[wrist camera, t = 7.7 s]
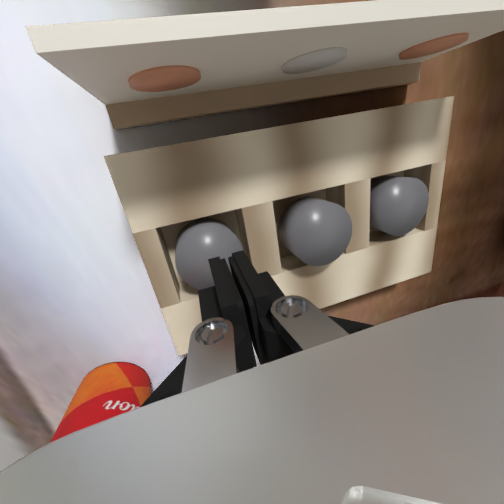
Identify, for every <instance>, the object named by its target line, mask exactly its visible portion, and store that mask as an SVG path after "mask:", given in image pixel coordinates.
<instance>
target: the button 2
mask: <svg viewBox="0 0 504 504" xmlns="http://www.w3.org/2000/svg"><path fill="white" fill-rule="evenodd" d="M428 202H429V194H428V190H427V187H426V185H425V184H424V183H423V182H422V181H421V180H420V179H417V178H411V177H400V176H388V175H384V176H380V177H377V178H375V179H374V180H372V181H371V182H370V227H371V228H374V229H377V230H379V231H382V232H385V233H388V234H390V235H394V236H400V235H404V234H407V233H409V232H410V231H412V230H413V229H414V228H415V227H416V226H417V225H418V224H419V223H420V222H421V220H422V219H423V217H424V215H425V213H426V210H427V207H428Z"/></svg>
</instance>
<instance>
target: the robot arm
mask: <svg viewBox="0 0 504 504" xmlns="http://www.w3.org/2000/svg"><path fill="white" fill-rule="evenodd" d="M228 260H229V265H230V269H231V272H230V270H229V267H228V265H227V263H226V260H225V258H223V259H220V257H215V258H211V259H208V261H209V265H210V269H211V273H212V277H213V281H214V284H215V286H211V287H208V288H204V289H201V290H198V296H199V303H200V311H201V318H202V322H201V323H200V324H198V325H197V326H196V327H195V328H194V329H193V331H192V333H191V336H190V341H189V348H188V354H187V356H186V357H185V358H184V359H183V360H182V361H181V363H180V364H179V365H178V366H177V367H176V368H175V369H174V370H173V371H172V372H171V373H170V375H169V376H168V377H167V378H166V379H165V380H164V381H163V382H162V383H161V384H160V385H159V387H158V388H157V389H156V390H155V391H154V392H153V393H152V394H151V395H150V396H149V397H148V398H147V400H146V401H145V402H144V403H143V404H142V405H141V406H140V408H137V409H134V410H131V411H128V412H125V413H122V414H120V415H117V416H115V417H112V418H109V419H107V420H104V421H102V422H99V423H96V424H94V425H91V426H88V427H86V428H83V429H81V430H78V431H75V432H73V433H71V434H69V435H66V436H64V437H62V438H60V439H58V440H55V441H53V442H51V443H49V444H47V445H45V446H43V447H41V448H39V449H38V450H36V451H34V452H32V453H30V454H28V455H26V456H25V457H23V458H21V459H19V460H18V461H16V462H15V463H13V464H12V465H10V466H8V467H7V468H5V469H4V470H2V471H1V472H0V504H504V297H479V298H471V299H463V300H458V301H454V302H449V303H445V304H441V305H438V306H435V307H431V308H428V309H425V310H421V311H418V312H415V313H412V314H409V315H406V316H403V317H400V318H397V319H394V320H391V321H388V322H385V323H382V324H379V325H376V326H374V325H369V324H365V323H360V322H355V321H350V320H346V319H341V318H336V317H331V316H327V315H326V314H325V313H323V312H322V311H321V310H320V309H319V308H317V307H316V306H315V305H314V304H313V303H311V302H310V301H309V300H308V299H306V298H304V297H301V296H296V295H289V296H285V295H284V293H283V292H282V291H281V289H280V288H279V287H278V285H277V284H276V282H275V281H274V280H273V278H272V277H271V275H270V274H269V273H268V272H267V271H265V272H262V273H257V271H256V270H255V268H254V267H253V265H252V263H251V262H250V260H249V259H248V257H247V256H246V254H245V252H244V251H243V250H242V251H238V252H234V253H232V256H231V257H228ZM251 341H252V342H251ZM252 344H253V346H254V349H255V352H256V354H257V357H258V359H259V362H260V364H261V365H260V366H257V365H256V360H255V356H254V351H253V346H252ZM262 364H263V365H262ZM256 366H257V367H256ZM253 367H254V368H253Z"/></svg>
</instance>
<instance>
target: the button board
mask: <svg viewBox="0 0 504 504" xmlns="http://www.w3.org/2000/svg"><path fill="white" fill-rule="evenodd" d="M453 101H454V96H451V97H445V98H439V99H433V100H427V101H422V102H416V103H410V104H404V105H398V106H393V107H387V108H381V109H375V110H369V111H364V112H358V113H352V114H346V115H340V116H335V117H329V118H323V119H317V120H311V121H306V122H300V123H294V124H288V125H282V126H276V127H271V128H265V129H259V130H253V131H247V132H242V133H236V134H230V135H224V136H218V137H213V138H207V139H201V140H195V141H189V142H184V143H178V144H172V145H166V146H160V147H154V148H149V149H143V150H137V151H131V152H125V153H120V154H114V155H108V156H104V158H105V161H106V164H107V166H108V169H109V172H110V174H111V177H112V180H113V182H114V185H115V188H116V190H117V193H118V196H119V198H120V201H121V204H122V206H123V209H124V212H125V214H126V217H127V220H128V222H129V225H130V228H131V230H132V233H133V236H134V238H135V241H136V244H137V246H138V249H139V251H140V254H141V257H142V259H143V262H144V265H145V267H146V270H147V273H148V275H149V278H150V281H151V283H152V286H153V289H154V291H155V294H156V297H157V299H158V302H159V305H160V307H161V310H162V313H163V315H164V318H165V321H166V323H167V326H168V329H169V331H170V334H171V337H172V339H173V342H174V345H175V347H176V350H177V353H178V355H179V356H181V355H184V354H187V353H188V348H189V341H190V336H191V333H192V331H193V329H194V328H195V327H196V326H197V325H198V324H200V323H201V322H202V318H201V311H200V303H199V296H198V290H200V289H196V288H193V287H192V286H190V285H188V284H187V283H186V282H185V281H183V279H182V278H181V277H180V275H179V274H178V271H177V269H176V264H175V243H176V239H177V236H178V234H179V232H180V231H181V230H182V228H183V227H184V226H185V225H187V224H188V223H190V222H191V221H193V220H196V219H199V218H214V219H217V220H220V221H222V222H223V223H225V224H226V225H227V226H228V227H229V228H230V229H231V230H232V232H233V233H234V234H235V235H236V237H237V238H238V239H239V241H240V242H241V244H242V247H243V250H244V252H245V254H246V256H247V257H248V259H249V260H250V262H251V263H252V265H253V267H254V268H255V270H256V271H257V273H262V272H265V271H267V272H268V273H269V274H270V275H271V277H272V278H273V280H274V281H275V282H276V284H277V285H278V287H279V288H280V289H281V291H282V292H283V293H284V295H285V296H289V295H296V296H301V297H304V298H306V299H308V300H309V301H310V302H311V303H313V304H314V305H315V306H316V307H317V308H319V309H321V308H324V307H327V306H330V305H333V304H336V303H339V302H342V301H345V300H348V299H351V298H354V297H357V296H360V295H363V294H366V293H369V292H372V291H375V290H378V289H381V288H384V287H387V286H390V285H393V284H396V283H399V282H402V281H405V280H408V279H411V278H414V277H417V276H420V275H423V274H426V273H429V272H431V269H432V261H433V254H434V246H435V238H436V231H437V223H438V216H439V208H440V200H441V193H442V185H443V177H444V170H445V162H446V154H447V147H448V139H449V132H450V124H451V116H452V109H453ZM384 175H388V176H400V177H411V178H417V179H420V180H421V181H422V182H423V183H424V184H425V185H426V187H427V190H428V194H429V202H428V207H427V210H426V213H425V215H424V217H423V219H422V220H421V222H420V223H419V224H418V225H417V226H416V227H415V228H414V229H413V230H412V231H410V232H409V233H407V234H404V235H400V236H394V235H390V234H388V233H385V232H382V231H379V230H377V229H374V228H371V227H370V182H371V181H372V180H374V179H375V178H377V177H380V176H384ZM303 197H315V198H318V199H322V200H325V201H329V202H332V203H336V204H338V205H340V206H342V207H343V208H344V209H345V210H346V211H347V212H348V213H349V215H350V218H351V221H352V236H351V240H350V242H349V244H348V246H347V248H346V250H345V251H344V252H343V254H342V255H341V256H340V257H339V258H337V259H336V260H335V261H333V262H331V263H329V264H327V265H323V266H311V265H308V264H306V263H304V262H303V261H301V260H300V259H299V258H298V257H296V256H295V255H294V254H293V253H292V252H290V251H289V250H288V249H287V248H286V247H285V246H284V245H283V244H282V242H281V240H280V237H279V222H280V219H281V217H282V214H283V213H284V211H285V210H286V208H287V207H288V206H289V205H290V204H291V203H293V202H294V201H296V200H298V199H300V198H303Z"/></svg>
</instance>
